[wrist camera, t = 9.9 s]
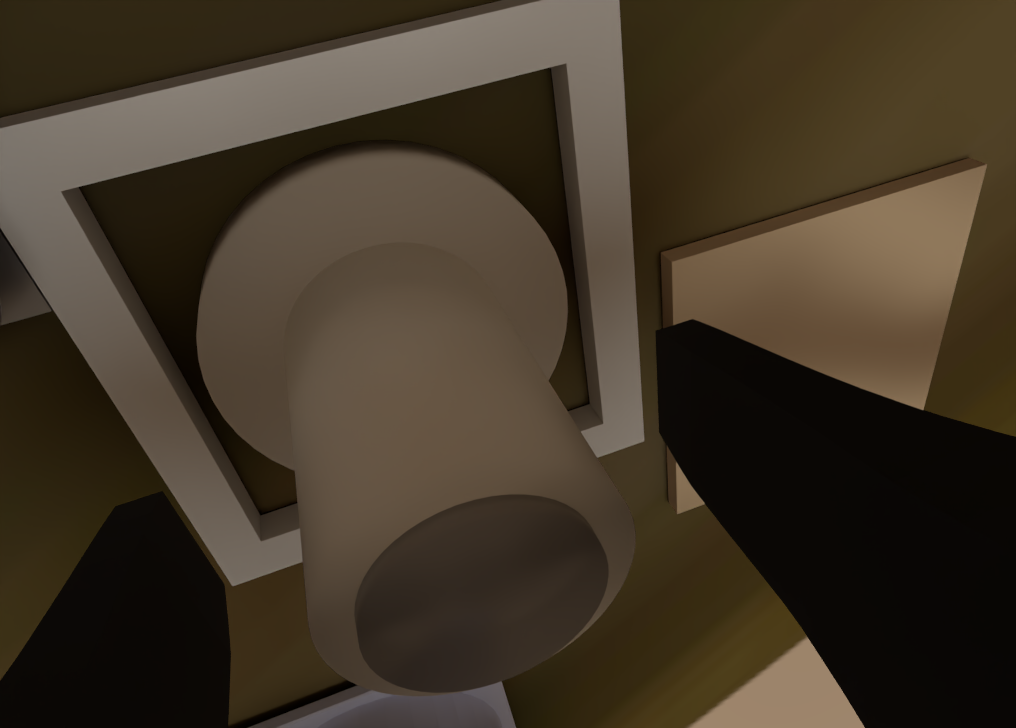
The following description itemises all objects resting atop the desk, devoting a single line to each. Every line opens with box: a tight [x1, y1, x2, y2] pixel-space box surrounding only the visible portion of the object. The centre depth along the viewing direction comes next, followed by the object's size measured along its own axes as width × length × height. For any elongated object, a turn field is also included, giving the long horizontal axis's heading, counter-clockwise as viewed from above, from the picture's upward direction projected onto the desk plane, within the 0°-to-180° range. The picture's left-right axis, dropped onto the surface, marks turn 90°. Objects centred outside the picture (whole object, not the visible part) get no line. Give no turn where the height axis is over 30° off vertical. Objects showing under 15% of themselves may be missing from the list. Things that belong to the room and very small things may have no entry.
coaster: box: [661, 158, 987, 514], centre depth 18 cm, size 8×8×1 cm
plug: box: [196, 140, 635, 696], centre depth 11 cm, size 7×7×7 cm
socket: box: [0, 0, 644, 586], centre depth 13 cm, size 10×10×1 cm
